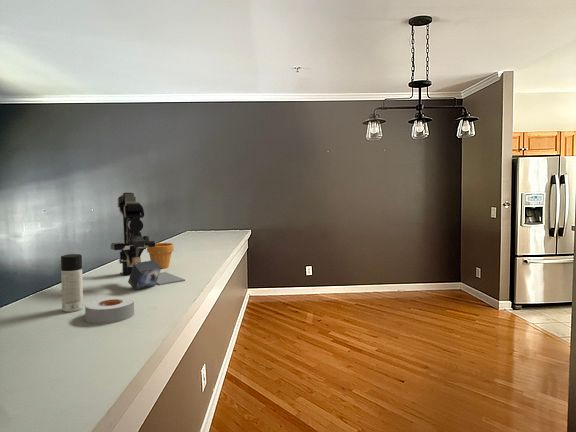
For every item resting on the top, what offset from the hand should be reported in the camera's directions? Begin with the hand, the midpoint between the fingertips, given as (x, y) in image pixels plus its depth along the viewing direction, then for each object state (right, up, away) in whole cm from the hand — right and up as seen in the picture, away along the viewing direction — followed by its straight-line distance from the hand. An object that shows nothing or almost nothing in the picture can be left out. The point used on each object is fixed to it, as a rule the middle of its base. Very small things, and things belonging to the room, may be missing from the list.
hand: (133, 263), depth 173 cm
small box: (+6, -9, -6) cm, 12 cm away
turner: (+2, -1, -2) cm, 3 cm away
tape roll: (+10, -13, -44) cm, 47 cm away
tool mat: (+10, -9, +11) cm, 17 cm away
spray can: (-7, -12, -38) cm, 40 cm away
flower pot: (-1, -7, +38) cm, 38 cm away
